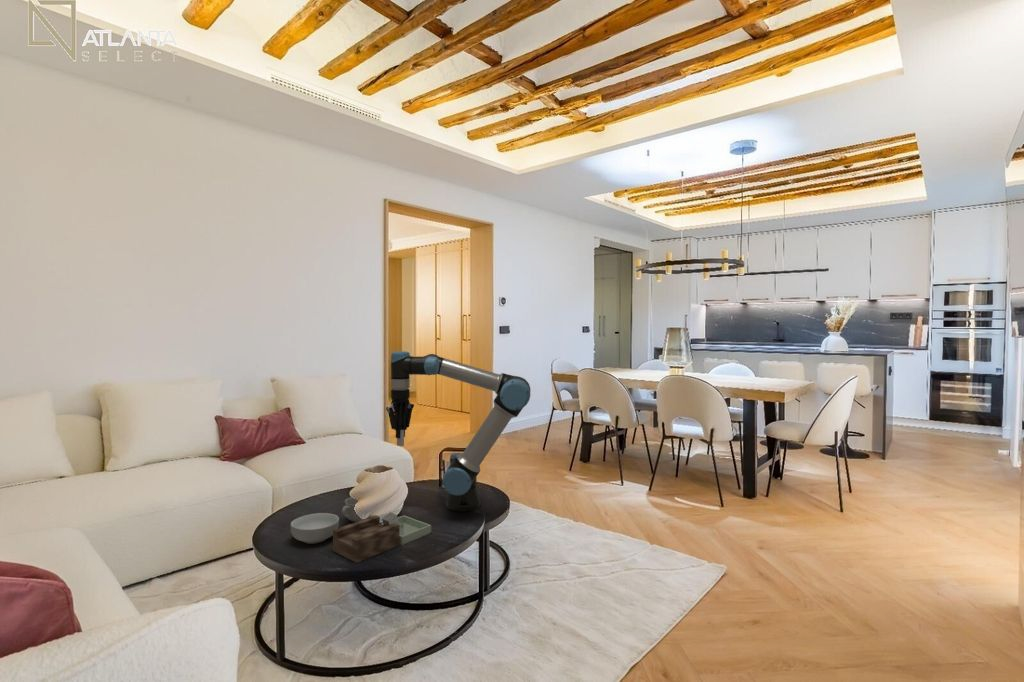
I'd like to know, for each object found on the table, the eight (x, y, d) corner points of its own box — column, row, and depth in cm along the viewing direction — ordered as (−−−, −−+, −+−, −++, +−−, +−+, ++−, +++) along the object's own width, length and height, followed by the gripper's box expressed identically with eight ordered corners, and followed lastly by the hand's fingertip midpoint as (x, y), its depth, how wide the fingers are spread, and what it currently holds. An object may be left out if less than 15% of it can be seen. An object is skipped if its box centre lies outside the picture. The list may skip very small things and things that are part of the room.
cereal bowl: (348, 534, 196) (348, 516, 196) (317, 552, 181) (316, 532, 180) (313, 527, 202) (313, 509, 202) (280, 544, 187) (280, 525, 187)
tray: (404, 522, 208) (404, 515, 208) (431, 532, 198) (431, 525, 198) (375, 533, 197) (375, 525, 197) (402, 545, 187) (402, 537, 187)
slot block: (375, 534, 196) (375, 515, 195) (399, 544, 187) (399, 524, 187) (333, 551, 182) (332, 530, 181) (356, 562, 173) (356, 540, 173)
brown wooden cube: (392, 521, 196) (390, 512, 194) (399, 523, 193) (396, 514, 192) (384, 527, 193) (381, 518, 192) (391, 530, 190) (388, 521, 189)
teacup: (362, 512, 218) (362, 493, 218) (377, 518, 212) (377, 499, 211) (332, 522, 208) (332, 502, 207) (347, 529, 201) (347, 508, 200)
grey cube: (388, 535, 194) (396, 531, 197) (395, 537, 192) (403, 534, 195) (388, 524, 194) (396, 521, 197) (395, 527, 192) (403, 524, 195)
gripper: (406, 386, 220) (406, 441, 221) (381, 389, 210) (381, 447, 211) (418, 388, 216) (418, 444, 217) (393, 391, 206) (393, 450, 207)
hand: (400, 445), depth 214 cm, fingers closed
